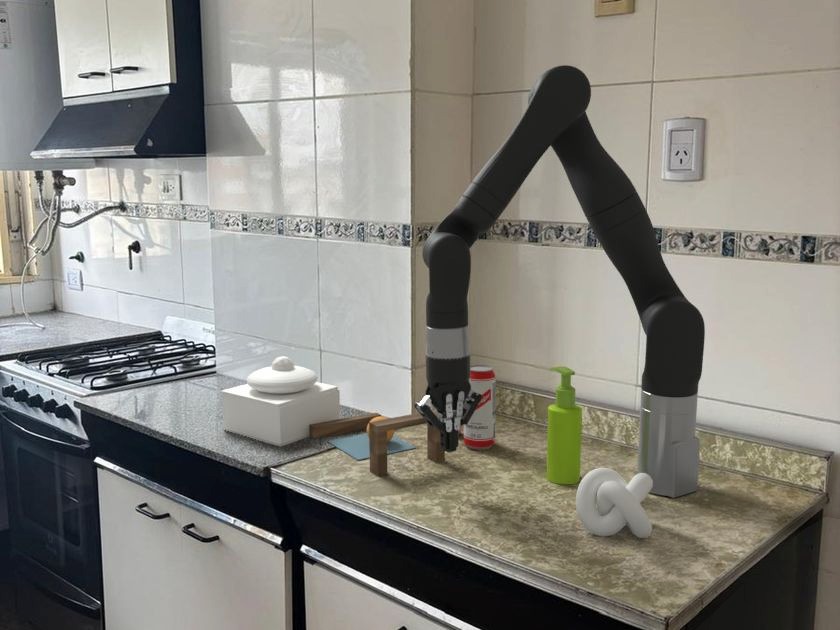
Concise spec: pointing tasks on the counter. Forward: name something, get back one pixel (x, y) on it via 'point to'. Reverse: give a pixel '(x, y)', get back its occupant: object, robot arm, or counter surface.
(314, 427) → the wall
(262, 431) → the white lidded dish
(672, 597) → the counter surface
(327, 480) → the counter surface
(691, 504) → the counter surface
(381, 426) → the bridge
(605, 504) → the white knot
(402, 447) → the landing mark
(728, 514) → the counter surface
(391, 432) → the ball
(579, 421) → the soap dispenser
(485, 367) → the beer can
